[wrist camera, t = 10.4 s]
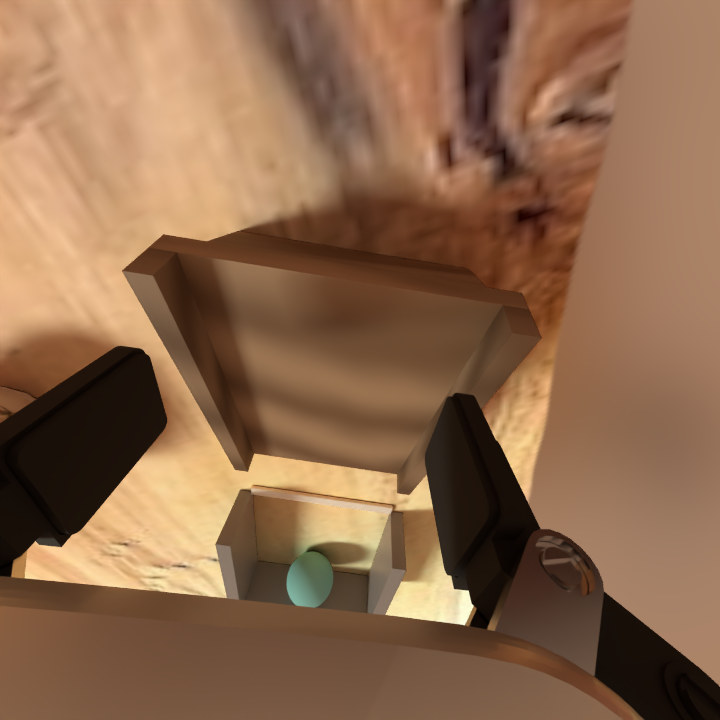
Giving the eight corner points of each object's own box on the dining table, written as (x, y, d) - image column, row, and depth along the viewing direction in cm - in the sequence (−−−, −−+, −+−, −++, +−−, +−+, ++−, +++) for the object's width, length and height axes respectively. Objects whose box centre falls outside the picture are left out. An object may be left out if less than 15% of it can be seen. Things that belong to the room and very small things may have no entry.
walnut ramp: (228, 219, 16) (115, 245, 9) (480, 261, 16) (552, 316, 9) (246, 446, 25) (197, 543, 18) (407, 470, 25) (416, 573, 19)
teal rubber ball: (283, 578, 29) (278, 618, 30) (334, 585, 29) (327, 625, 30) (295, 538, 34) (290, 573, 35) (338, 543, 34) (332, 579, 35)
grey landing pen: (239, 483, 28) (214, 537, 24) (404, 507, 28) (409, 564, 24) (248, 564, 36) (230, 615, 32) (376, 581, 37) (375, 634, 32)
